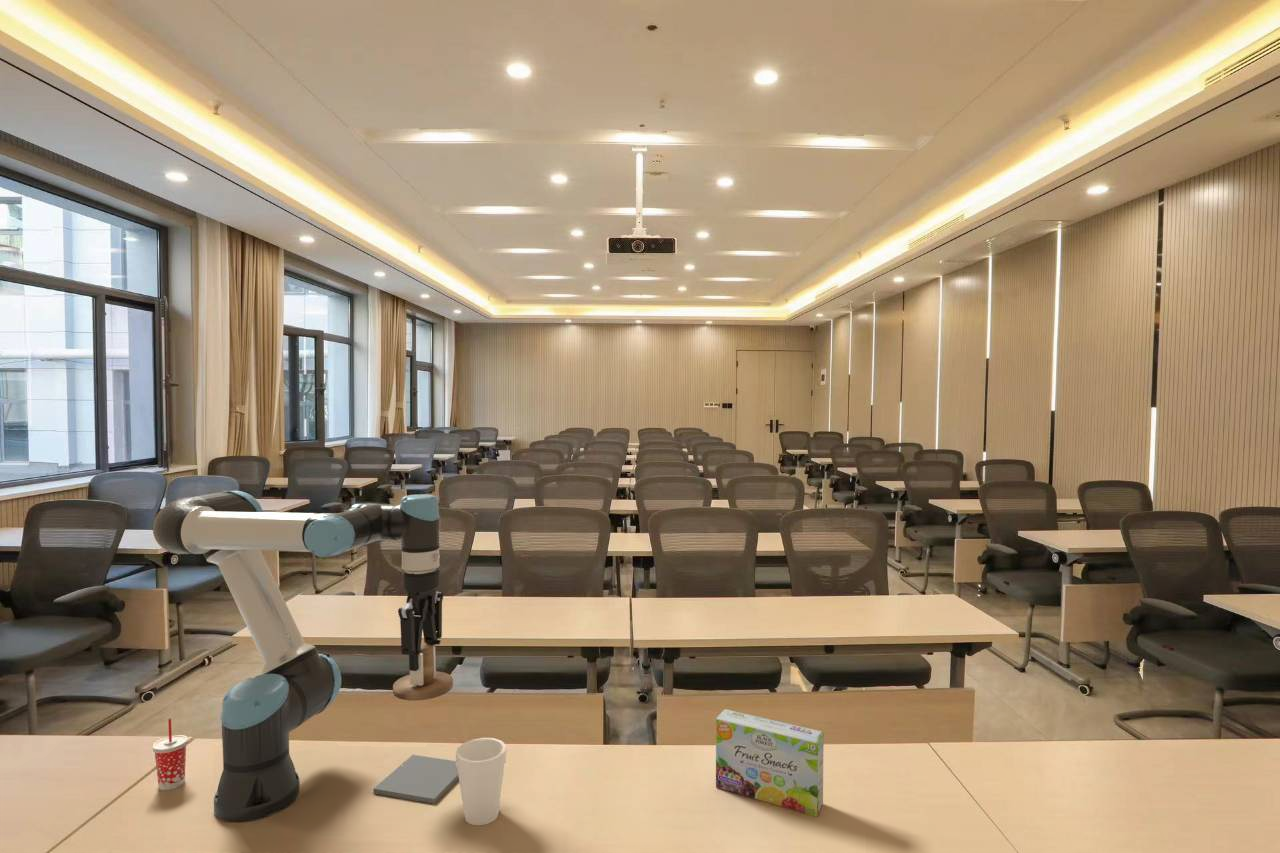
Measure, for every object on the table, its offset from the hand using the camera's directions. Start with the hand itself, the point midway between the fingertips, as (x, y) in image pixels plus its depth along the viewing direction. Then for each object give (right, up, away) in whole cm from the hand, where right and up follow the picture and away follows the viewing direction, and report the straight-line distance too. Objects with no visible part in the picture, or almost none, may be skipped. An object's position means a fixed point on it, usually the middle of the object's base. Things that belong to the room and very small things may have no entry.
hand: (423, 679), depth 146 cm
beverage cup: (-53, -22, 0) cm, 57 cm away
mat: (0, -22, +1) cm, 22 cm away
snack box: (+72, -22, -5) cm, 75 cm away
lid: (0, -2, 0) cm, 2 cm away
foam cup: (+15, -22, -11) cm, 29 cm away
